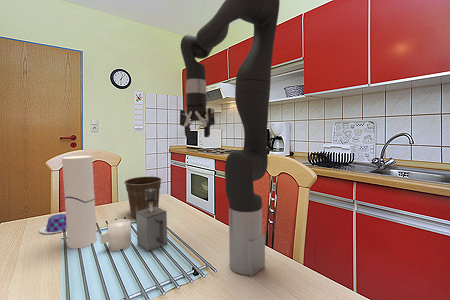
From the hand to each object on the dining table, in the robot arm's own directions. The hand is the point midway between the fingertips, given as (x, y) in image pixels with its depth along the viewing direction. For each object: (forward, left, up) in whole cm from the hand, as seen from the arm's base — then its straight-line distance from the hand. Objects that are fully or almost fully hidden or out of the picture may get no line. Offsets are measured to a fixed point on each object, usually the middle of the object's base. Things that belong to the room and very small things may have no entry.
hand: (197, 137), depth 86 cm
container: (+22, +34, -36) cm, 54 cm away
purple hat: (+43, +37, -37) cm, 68 cm away
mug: (+10, +27, -36) cm, 46 cm away
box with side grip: (+1, +18, -36) cm, 40 cm away
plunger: (+3, +18, -33) cm, 38 cm away
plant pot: (+32, +6, -36) cm, 49 cm away
